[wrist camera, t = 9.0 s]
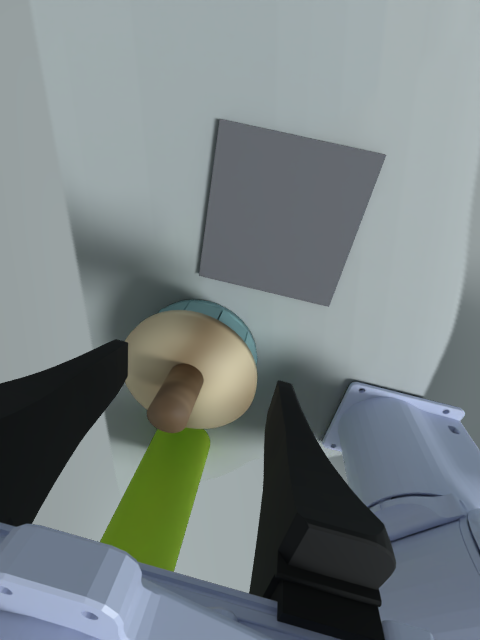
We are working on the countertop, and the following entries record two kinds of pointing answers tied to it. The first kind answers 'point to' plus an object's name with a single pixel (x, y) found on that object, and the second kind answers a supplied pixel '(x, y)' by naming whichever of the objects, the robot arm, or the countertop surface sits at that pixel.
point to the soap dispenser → (160, 498)
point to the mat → (284, 210)
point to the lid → (189, 371)
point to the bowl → (218, 318)
